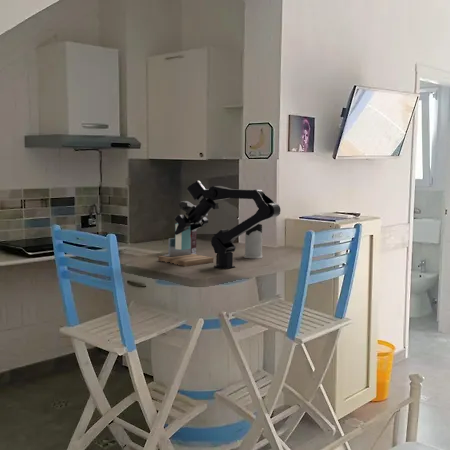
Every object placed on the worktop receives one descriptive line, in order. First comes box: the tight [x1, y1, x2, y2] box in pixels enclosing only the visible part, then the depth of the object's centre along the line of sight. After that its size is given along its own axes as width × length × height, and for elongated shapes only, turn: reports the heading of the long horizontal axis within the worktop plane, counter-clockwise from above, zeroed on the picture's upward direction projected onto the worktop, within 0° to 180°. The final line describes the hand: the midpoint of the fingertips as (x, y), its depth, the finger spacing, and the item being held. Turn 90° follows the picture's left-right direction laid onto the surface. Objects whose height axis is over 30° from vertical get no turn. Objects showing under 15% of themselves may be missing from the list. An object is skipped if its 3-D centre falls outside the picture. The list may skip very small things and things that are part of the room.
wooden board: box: [157, 253, 214, 267], centre depth 259 cm, size 18×16×2 cm
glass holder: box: [243, 223, 264, 259], centre depth 277 cm, size 9×14×15 cm, turn 19°
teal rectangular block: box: [174, 222, 190, 250], centre depth 255 cm, size 4×7×11 cm, turn 151°
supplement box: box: [190, 229, 198, 255], centre depth 281 cm, size 9×5×16 cm, turn 62°
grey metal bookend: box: [162, 237, 191, 257], centre depth 263 cm, size 5×12×8 cm, turn 134°
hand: (180, 233), depth 256 cm, fingers closed on teal rectangular block, 6 cm apart
